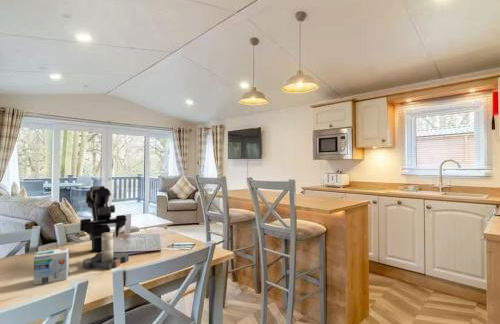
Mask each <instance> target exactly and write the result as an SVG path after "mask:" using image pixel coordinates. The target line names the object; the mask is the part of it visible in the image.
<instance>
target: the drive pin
mask: <svg viewBox="0 0 500 324" xmlns="http://www.w3.org/2000/svg"><path fill="white" fill-rule="evenodd" d="M113 252H114V233H113V232H112V231H110V232H107V233H103V234H102V252H101V253H102V262H103V263H110V262H112V261H113Z"/></svg>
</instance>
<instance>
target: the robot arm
mask: <svg viewBox="0 0 500 324" xmlns="http://www.w3.org/2000/svg"><path fill="white" fill-rule="evenodd" d="M111 195H112V192H110V190H109V189H108V188H106V187H105V186H104V185H103V186H102V185H100V186H98V185H97V186H91V187H89V190H88V191H87V192H86V193H85V203H86V205H87V207H88V208H90V209H91V215H92V218H85V219H81V220H79V231H80V232H83V233H87V235H89V240H90V241H91V249H90V250H89V252H90V253H91V252H92V253H102V234H103V233H107V232H111V228H110V226H109V225H112V224H115V228H114V229H115V237H116V238H118V235H119V231H120V228H123V226H125V225H126V221H127V216H126V215H125V214H121V215H116V217H115V218H112V214H114V213H115V212H116V207H115V205H114V204H112V205H111V204H110V205H109V204H108V203H109V201H110V200H109V199H110V196H111ZM111 218H112V219H111ZM91 219H92V220H91Z"/></svg>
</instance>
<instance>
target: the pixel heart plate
mask: <svg viewBox="0 0 500 324" xmlns="http://www.w3.org/2000/svg"><path fill="white" fill-rule="evenodd" d="M129 256H130V255H129V253H128V252H123V251H122V252H114V251H113V261H112V262H110V263H103V262H102V252H97V253H96V254H95V255H94V256H92V257H87V258H85V259H83V261H82V269H84V270H91V269H95V270H96V269H97V270H109V271H110V270H111V269H114V268H119V267H120V266H121V264H123V263H127V262H129V260H130V259H129V258H130V257H129Z"/></svg>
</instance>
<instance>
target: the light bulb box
mask: <svg viewBox="0 0 500 324" xmlns="http://www.w3.org/2000/svg"><path fill="white" fill-rule="evenodd" d="M69 251H70V248H69V247H65V248H57V249H56V248H55V249H49V250H40V251H37V252H36V253H35V255H34V256H33V285H34V286H36V285H42V284H49V283H50V284H51V283H54V282H62V281H67V280H68V276H69V274H70V270H69V269H70V267H69V266H70V265H69V264H70V257H69V256H70V255H69Z"/></svg>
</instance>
